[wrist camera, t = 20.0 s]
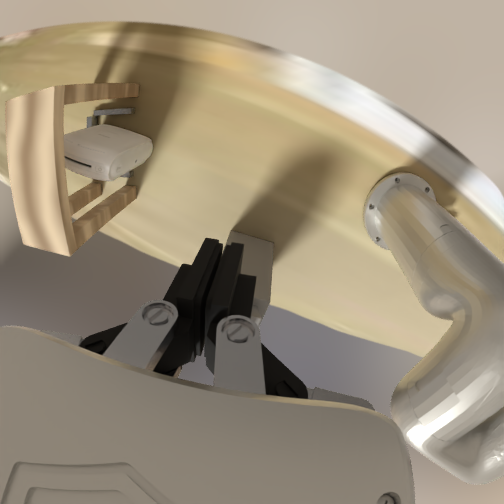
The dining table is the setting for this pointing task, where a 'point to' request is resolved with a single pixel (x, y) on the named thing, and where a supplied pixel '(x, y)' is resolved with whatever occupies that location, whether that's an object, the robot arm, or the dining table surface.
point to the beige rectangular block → (256, 269)
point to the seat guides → (93, 119)
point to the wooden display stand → (55, 168)
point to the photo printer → (105, 151)
